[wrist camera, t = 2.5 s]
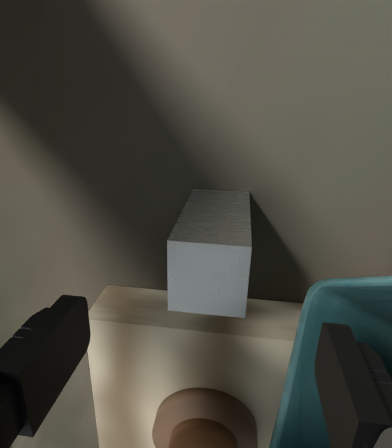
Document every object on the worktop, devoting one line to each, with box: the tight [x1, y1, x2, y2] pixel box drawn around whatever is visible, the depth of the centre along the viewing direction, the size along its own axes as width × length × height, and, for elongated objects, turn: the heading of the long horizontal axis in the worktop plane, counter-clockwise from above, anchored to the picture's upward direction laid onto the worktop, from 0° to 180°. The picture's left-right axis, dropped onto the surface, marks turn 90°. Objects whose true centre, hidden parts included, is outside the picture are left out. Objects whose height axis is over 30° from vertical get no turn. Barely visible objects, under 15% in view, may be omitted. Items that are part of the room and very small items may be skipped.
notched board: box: [88, 285, 303, 448], centre depth 25 cm, size 28×16×4 cm, turn 88°
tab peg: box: [167, 188, 252, 318], centre depth 18 cm, size 4×4×8 cm
